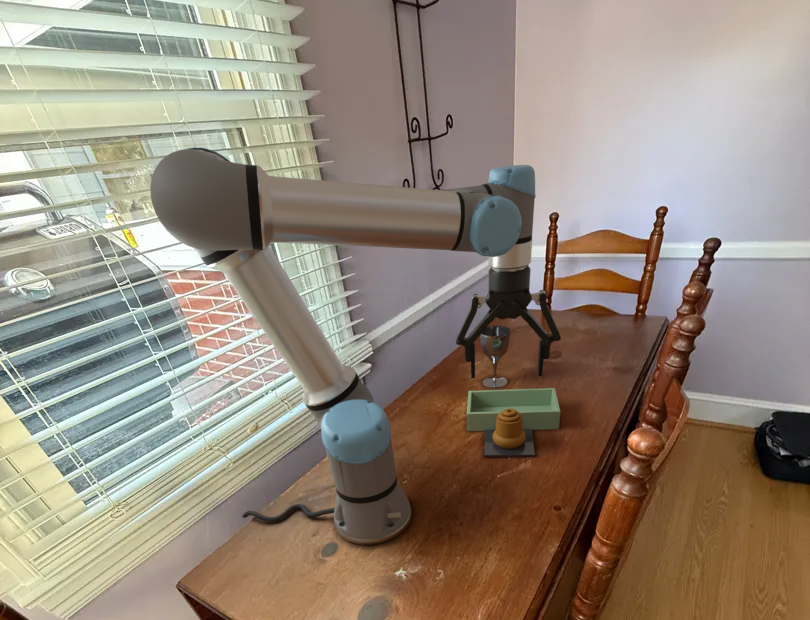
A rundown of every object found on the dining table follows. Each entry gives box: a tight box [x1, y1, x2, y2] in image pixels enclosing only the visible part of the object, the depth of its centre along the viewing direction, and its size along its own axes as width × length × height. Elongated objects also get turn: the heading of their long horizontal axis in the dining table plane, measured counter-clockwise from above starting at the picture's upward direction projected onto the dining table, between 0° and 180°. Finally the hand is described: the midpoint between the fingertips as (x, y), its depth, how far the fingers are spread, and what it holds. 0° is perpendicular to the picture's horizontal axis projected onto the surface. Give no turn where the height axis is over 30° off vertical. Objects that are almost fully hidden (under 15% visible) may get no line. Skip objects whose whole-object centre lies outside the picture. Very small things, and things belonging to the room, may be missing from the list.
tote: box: [466, 387, 561, 432], centre depth 118 cm, size 22×12×5 cm, turn 82°
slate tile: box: [483, 429, 536, 458], centre depth 110 cm, size 11×11×1 cm
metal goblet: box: [479, 325, 511, 389], centre depth 132 cm, size 8×8×15 cm
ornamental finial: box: [493, 408, 526, 449], centre depth 107 cm, size 8×8×8 cm
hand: (506, 374), depth 99 cm, fingers open, 13 cm apart
